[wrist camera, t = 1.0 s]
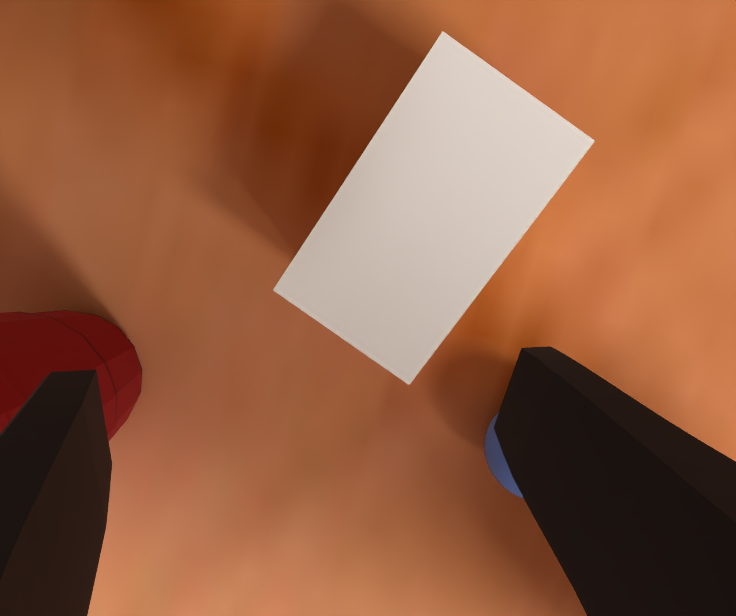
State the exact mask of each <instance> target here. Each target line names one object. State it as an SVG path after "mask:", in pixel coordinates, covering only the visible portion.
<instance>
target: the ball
mask: <svg viewBox="0 0 736 616" xmlns="http://www.w3.org/2000/svg"><path fill="white" fill-rule="evenodd" d="M498 414H499V412H498V413H497V414H496V415H495V417H494V418H493V419H492V421H491V423H490V424H489V426H488V429H487V432H486V437H485V445H484V446H485V456H486V460H487V463H488V466H489V468H490V470H491V472H492V474H493V475H494V477H495V478H496V479H497V481H498V482H499V483H500V484H501V485H502V486H503V487H504V488H506V489H507V490H508V491H509V492H511V493H513V494H514V495H516V496H519V497H521V498H523V496H522V494H521V492H520V490H519V488H518V486H517V484H516V483H515V481H514V479H513V477H512V474H511V472H510V470H509V467H508V465H507V462H506V460H505V457H504V455H503V452H502V449H501V447H500V444H499V441H498V438H497V436H496V433H495V430H494V425H495V422H496V419H497V417H498Z"/></svg>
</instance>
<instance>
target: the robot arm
mask: <svg viewBox="0 0 736 616" xmlns="http://www.w3.org/2000/svg"><path fill="white" fill-rule="evenodd" d="M494 430H495V433H496V436H497V438H498V441H499V444H500V447H501V449H502V452H503V455H504V457H505V460H506V462H507V465H508V467H509V470H510V472H511V474H512V477H513V479H514V481H515V483H516V484H517V486H518V488H519V490H520V492H521V494H522V496H523V498H524V499H525V501H526V503H527V505H528V507H529V509H530V510H531V512H532V514H533V516H534V518H535V520H536V521H537V523H538V525H539V527H540V529H541V530H542V532H543V534H544V536H545V538H546V539H547V541H548V543H549V545H550V547H551V548H552V550H553V552H554V554H555V556H556V557H557V559H558V561H559V563H560V565H561V566H562V568H563V570H564V572H565V574H566V575H567V577H568V579H569V581H570V583H571V584H572V586H573V588H574V590H575V592H576V594H577V596H578V598H579V600H580V602H581V604H582V606H583V608H584V610H585V612H586V614H587V616H736V462H735V461H734V460H732V459H730V458H729V457H727V456H725V455H723V454H722V453H720V452H718V451H717V450H715V449H713V448H712V447H710V446H708V445H707V444H705V443H703V442H701V441H700V440H698V439H696V438H695V437H693V436H691V435H690V434H688V433H687V432H685V431H683V430H682V429H680V428H679V427H677V426H675V425H674V424H672V423H670V422H669V421H667V420H666V419H664V418H663V417H661V416H659V415H658V414H656V413H655V412H653V411H652V410H650V409H649V408H647V407H646V406H644V405H642V404H641V403H639V402H638V401H636V400H635V399H633V398H632V397H630V396H629V395H627V394H626V393H624V392H623V391H621V390H619V389H618V388H616V387H615V386H613V385H612V384H610V383H609V382H607V381H606V380H604V379H603V378H601V377H600V376H598V375H597V374H595V373H593V372H592V371H590V370H589V369H587V368H586V367H584V366H583V365H581V364H579V363H578V362H576V361H575V360H573V359H571V358H570V357H568V356H566V355H565V354H563V353H561V352H559V351H558V350H556V349H554V348H552V347H532V348H522V349H521V351H520V354H519V357H518V360H517V363H516V366H515V368H514V371H513V374H512V377H511V380H510V383H509V385H508V388H507V391H506V394H505V397H504V400H503V402H502V405H501V408H500V411H499V414H498V417H497V419H496V422H495V425H494ZM111 469H112V460H111V454H110V448H109V442H108V436H107V430H106V424H105V418H104V412H103V406H102V400H101V394H100V387H99V381H98V375H97V370H77V371H57V372H51V373H50V374H48V375H47V376H46V377H45V378H44V379H43V380H42V382H41V383H40V384H39V385H38V387H37V388H36V389H35V391H34V392H33V393H32V394H31V396H30V397H29V398H28V400H27V401H26V402H25V403H24V405H23V406H22V407H21V408H20V410H19V411H18V412H17V413H16V415H15V416H14V417H13V418H12V420H11V421H10V422H9V423H8V424H7V426H6V427H5V428H4V429H3V431H2V432H1V433H0V616H87V614H88V609H89V605H90V600H91V595H92V591H93V586H94V581H95V577H96V572H97V567H98V563H99V558H100V553H101V548H102V544H103V539H104V534H105V529H106V522H107V513H108V503H109V492H110V481H111Z"/></svg>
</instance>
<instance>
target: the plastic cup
mask: <svg viewBox="0 0 736 616" xmlns="http://www.w3.org/2000/svg"><path fill="white" fill-rule="evenodd" d="M77 370H97V375H98V381H99V387H100V394H101V400H102V406H103V412H104V418H105V424H106V430H107V436H108V442H109V441H110V439H111V438H112V437H113V436H114V435H115V433H116V432H117V431H118V430H119V429H120V427H121V426H122V425H123V424H124V423H125V421H126V420H127V419H128V417H129V415H130V413H131V411H132V409H133V407H134V405H135V403H136V401H137V399H138V397H139V395H140V393H141V378H142V368H141V365H140V363H139V360H138V357H137V354H136V351H135V348H134V346H133V345H132V344H131V343H130V341H129V340H128V339H127V338H126V336H125V335H124V334H123V333H122V332H121V330H120V329H119V328H118V327H116V326H114V325H113V324H111V323H109V322H108V321H106V320H104V319H102V318H101V317H99V316H97V315H91V314H85V313H78V312H71V311H65V310H64V311H53V312H41V313H24V312H9V313H0V433H1V432H2V431H3V429H4V428H5V427H6V426H7V424H8V423H9V422H10V421H11V420H12V418H13V417H14V416H15V415H16V413H17V412H18V411H19V410H20V408H21V407H22V406H23V405H24V403H25V402H26V401H27V400H28V398H29V397H30V396H31V394H32V393H33V392H34V391H35V389H36V388H37V387H38V385H39V384H40V383H41V382H42V380H43V379H44V378H45V377H46V376H47V375H48V374H50V373H51V372H57V371H77Z"/></svg>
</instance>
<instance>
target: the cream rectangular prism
mask: <svg viewBox="0 0 736 616" xmlns="http://www.w3.org/2000/svg"><path fill="white" fill-rule="evenodd" d="M593 143H594V140H593V139H592V138H590V137H589V136H588V135H586V134H585V133H583V132H582V131H581V130H579V129H578V128H576V127H575V126H574V125H572V124H571V123H569V122H568V121H567V120H565V119H564V118H563V117H561V116H560V115H558V114H557V113H556V112H554V111H553V110H551V109H550V108H549V107H547V106H546V105H545V104H543V103H542V102H540V101H539V100H538V99H536V98H535V97H533V96H532V95H531V94H529V93H528V92H526V91H525V90H524V89H522V88H521V87H520V86H518V85H517V84H515V83H514V82H513V81H511V80H510V79H508V78H507V77H506V76H504V75H503V74H501V73H500V72H499V71H497V70H496V69H495V68H493V67H492V66H490V65H489V64H488V63H486V62H485V61H483V60H482V59H481V58H479V57H478V56H476V55H475V54H474V53H472V52H471V51H470V50H468V49H467V48H465V47H464V46H463V45H461V44H460V43H458V42H457V41H456V40H454V39H453V38H452V37H450V36H449V35H447V34H446V33H445V32H442V33H441V35H440V36H439V38H438V39H437V41H436V42H435V44H434V45H433V47H432V48H431V50H430V51H429V53H428V54H427V56H426V57H425V59H424V61H423V62H422V64H421V65H420V67H419V68H418V70H417V71H416V73H415V74H414V76H413V77H412V79H411V80H410V82H409V83H408V85H407V86H406V88H405V90H404V91H403V93H402V94H401V96H400V97H399V99H398V100H397V102H396V103H395V105H394V106H393V108H392V109H391V111H390V112H389V114H388V115H387V117H386V118H385V120H384V122H383V123H382V125H381V126H380V128H379V129H378V131H377V132H376V134H375V135H374V137H373V138H372V140H371V141H370V143H369V144H368V146H367V147H366V149H365V151H364V152H363V154H362V155H361V157H360V158H359V160H358V161H357V163H356V164H355V166H354V167H353V169H352V170H351V172H350V173H349V175H348V176H347V178H346V179H345V181H344V183H343V184H342V186H341V187H340V189H339V190H338V192H337V193H336V195H335V196H334V198H333V199H332V201H331V202H330V204H329V205H328V207H327V208H326V210H325V212H324V213H323V215H322V216H321V218H320V219H319V221H318V222H317V224H316V225H315V227H314V228H313V230H312V231H311V233H310V234H309V236H308V237H307V239H306V240H305V242H304V244H303V245H302V247H301V248H300V250H299V251H298V253H297V254H296V256H295V257H294V259H293V260H292V262H291V263H290V265H289V266H288V268H287V269H286V271H285V273H284V274H283V276H282V277H281V279H280V280H279V282H278V283H277V285H276V286H275V288H274V289H273V291H275V292H276V293H278V294H279V295H280V296H282V297H283V298H285V299H286V300H288V301H289V302H291V303H292V304H293V305H295V306H296V307H298V308H299V309H301V310H302V311H303V312H305V313H306V314H308V315H309V316H311V317H312V318H313V319H315V320H316V321H318V322H319V323H321V324H322V325H324V326H325V327H326V328H328V329H329V330H331V331H332V332H334V333H335V334H336V335H338V336H339V337H341V338H342V339H344V340H345V341H346V342H348V343H349V344H351V345H352V346H354V347H355V348H357V349H358V350H359V351H361V352H362V353H364V354H365V355H367V356H368V357H369V358H371V359H372V360H374V361H375V362H377V363H378V364H379V365H381V366H382V367H384V368H385V369H387V370H388V371H390V372H391V373H392V374H394V375H395V376H397V377H398V378H400V379H401V380H402V381H404V382H405V383H407V384H408V385H410V383H411V382H412V381H413V379H414V378H415V377H416V375H417V374H418V373H419V372H420V370H421V369H422V368H423V366H424V365H425V364H426V362H427V361H428V360H429V358H430V357H431V356H432V354H433V353H434V352H435V350H436V349H437V348H438V347H439V345H440V344H441V343H442V341H443V340H444V339H445V337H446V336H447V335H448V333H449V332H450V331H451V329H452V328H453V327H454V326H455V324H456V323H457V322H458V320H459V319H460V318H461V316H462V315H463V314H464V312H465V311H466V310H467V308H468V307H469V306H470V304H471V303H472V302H473V301H474V299H475V298H476V297H477V295H478V294H479V293H480V291H481V290H482V289H483V287H484V286H485V285H486V283H487V282H488V281H489V279H490V278H491V277H492V276H493V274H494V273H495V272H496V270H497V269H498V268H499V266H500V265H501V264H502V262H503V261H504V260H505V258H506V257H507V256H508V255H509V253H510V252H511V251H512V249H513V248H514V247H515V245H516V244H517V243H518V241H519V240H520V239H521V237H522V236H523V235H524V233H525V232H526V231H527V230H528V228H529V227H530V226H531V224H532V223H533V222H534V220H535V219H536V218H537V216H538V215H539V214H540V212H541V211H542V210H543V209H544V207H545V206H546V205H547V203H548V202H549V201H550V199H551V198H552V197H553V195H554V194H555V193H556V191H557V190H558V189H559V187H560V186H561V185H562V184H563V182H564V181H565V180H566V178H567V177H568V176H569V174H570V173H571V172H572V170H573V169H574V168H575V166H576V165H577V164H578V162H579V161H580V160H581V159H582V157H583V156H584V155H585V153H586V152H587V151H588V149H589V148H590V147H591V145H592V144H593Z"/></svg>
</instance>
